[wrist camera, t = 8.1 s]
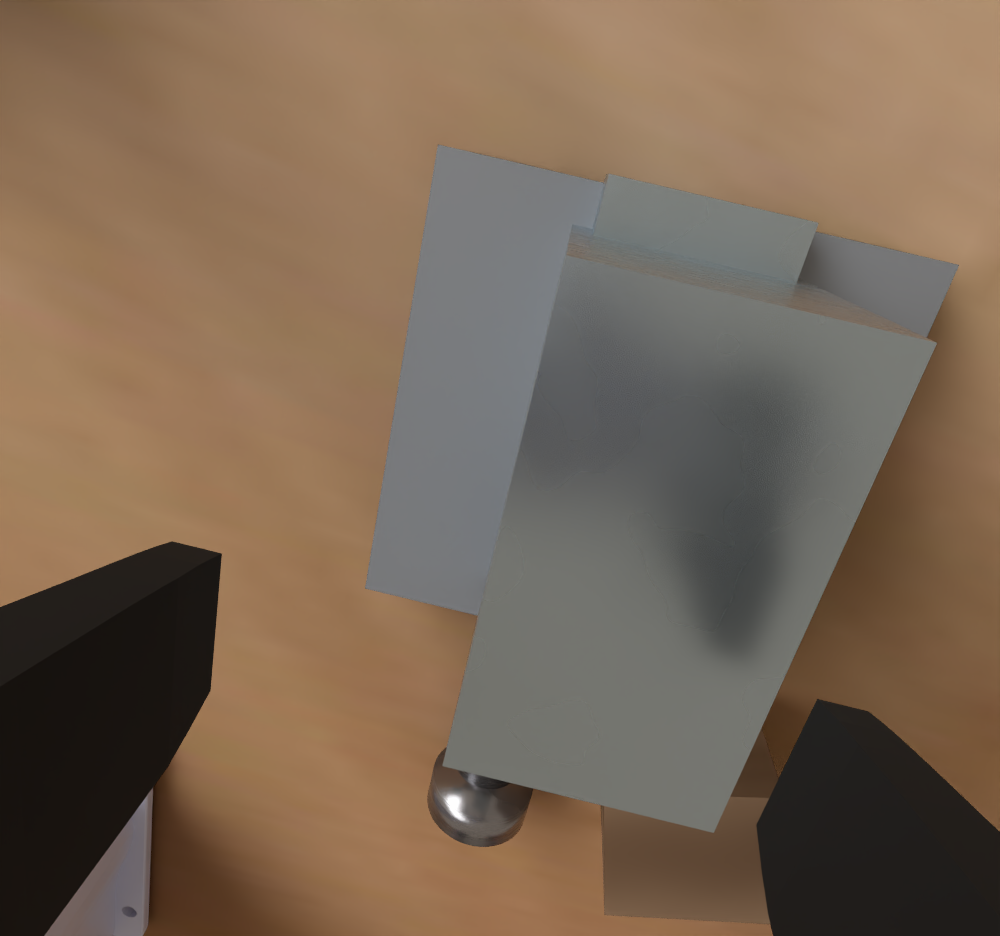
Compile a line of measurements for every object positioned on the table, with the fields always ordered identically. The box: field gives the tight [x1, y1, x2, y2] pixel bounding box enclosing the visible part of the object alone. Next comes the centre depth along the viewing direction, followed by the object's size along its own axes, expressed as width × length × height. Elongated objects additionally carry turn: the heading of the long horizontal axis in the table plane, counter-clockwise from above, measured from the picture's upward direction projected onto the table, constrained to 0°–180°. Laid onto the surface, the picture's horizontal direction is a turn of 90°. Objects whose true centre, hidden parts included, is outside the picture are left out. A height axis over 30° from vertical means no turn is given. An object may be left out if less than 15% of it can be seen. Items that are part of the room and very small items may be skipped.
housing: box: [443, 174, 937, 833], centre depth 13 cm, size 10×4×6 cm, turn 168°
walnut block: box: [601, 728, 778, 924], centre depth 19 cm, size 4×4×4 cm
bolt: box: [427, 747, 533, 847], centre depth 19 cm, size 6×3×3 cm, turn 168°
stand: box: [365, 145, 959, 615], centre depth 17 cm, size 10×10×2 cm
